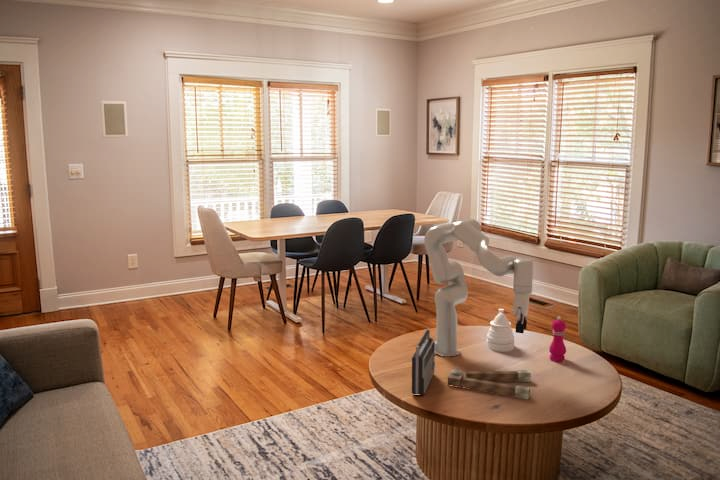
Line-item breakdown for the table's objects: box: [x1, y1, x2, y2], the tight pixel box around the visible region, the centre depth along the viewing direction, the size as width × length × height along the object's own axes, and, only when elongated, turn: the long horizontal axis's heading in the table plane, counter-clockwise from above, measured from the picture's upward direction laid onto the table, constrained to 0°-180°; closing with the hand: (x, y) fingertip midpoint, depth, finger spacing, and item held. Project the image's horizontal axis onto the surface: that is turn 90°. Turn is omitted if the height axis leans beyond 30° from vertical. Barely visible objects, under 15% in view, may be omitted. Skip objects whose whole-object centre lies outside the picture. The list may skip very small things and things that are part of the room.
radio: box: [411, 328, 436, 396], centre depth 245 cm, size 24×5×20 cm, turn 163°
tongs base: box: [447, 369, 531, 400], centre depth 242 cm, size 32×8×4 cm, turn 64°
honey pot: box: [486, 308, 515, 352], centre depth 287 cm, size 13×13×18 cm
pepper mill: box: [548, 316, 567, 363], centre depth 270 cm, size 7×7×20 cm
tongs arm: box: [465, 369, 532, 383], centre depth 249 cm, size 26×3×4 cm, turn 89°
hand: (521, 330), depth 253 cm, fingers open, 5 cm apart
